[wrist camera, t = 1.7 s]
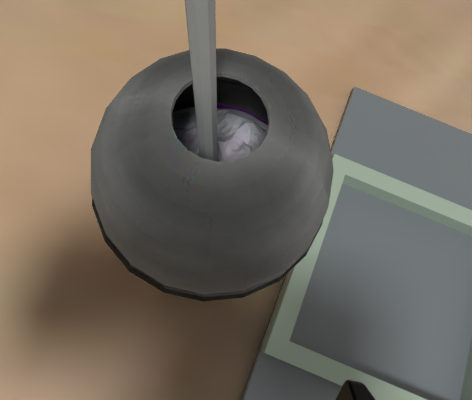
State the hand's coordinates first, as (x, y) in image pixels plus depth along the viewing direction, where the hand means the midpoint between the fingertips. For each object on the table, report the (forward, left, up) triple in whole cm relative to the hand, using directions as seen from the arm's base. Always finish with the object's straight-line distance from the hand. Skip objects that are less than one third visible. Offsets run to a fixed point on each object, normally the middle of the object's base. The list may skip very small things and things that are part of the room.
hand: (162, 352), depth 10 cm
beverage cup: (+5, +1, -13) cm, 14 cm away
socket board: (+8, -10, -13) cm, 18 cm away
